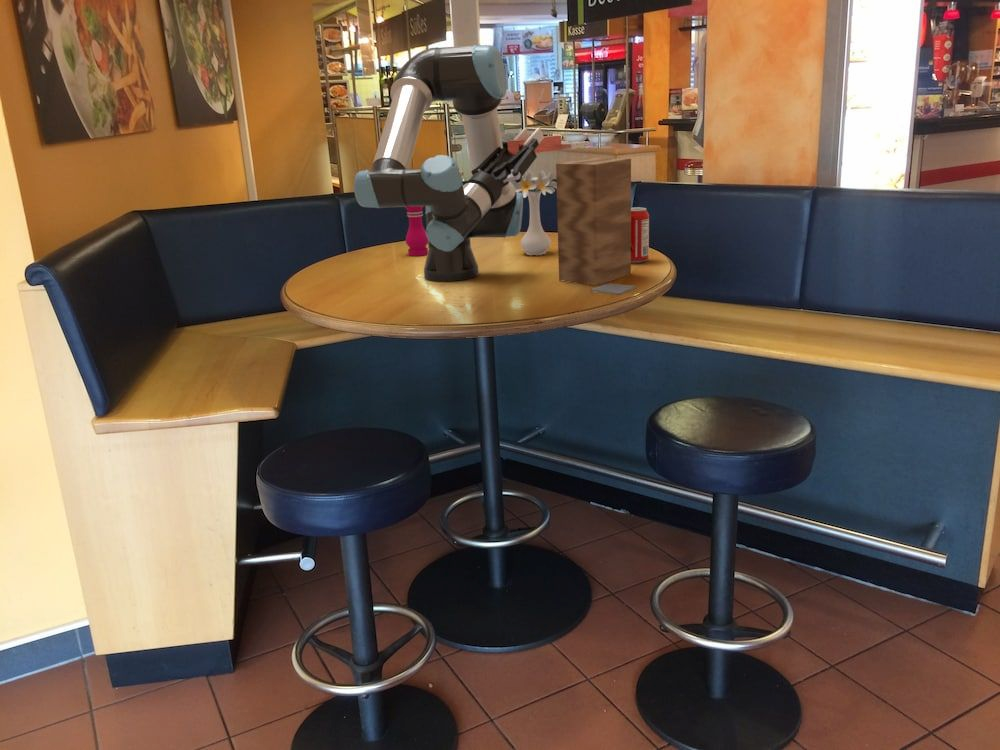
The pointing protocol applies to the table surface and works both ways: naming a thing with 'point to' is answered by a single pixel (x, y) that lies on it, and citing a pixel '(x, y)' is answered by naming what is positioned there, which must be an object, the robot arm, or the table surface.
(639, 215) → the soda can
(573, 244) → the stand
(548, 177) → the flower vase
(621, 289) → the tile
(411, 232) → the pepper mill
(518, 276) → the table surface
